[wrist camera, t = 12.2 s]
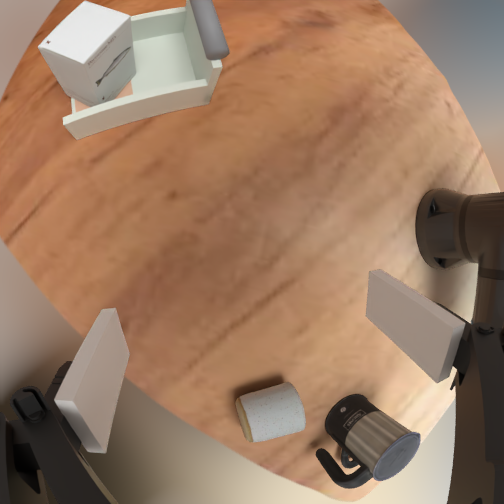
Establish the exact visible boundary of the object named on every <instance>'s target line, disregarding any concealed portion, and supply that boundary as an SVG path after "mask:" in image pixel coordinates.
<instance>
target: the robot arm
mask: <svg viewBox="0 0 504 504" xmlns="http://www.w3.org/2000/svg"><path fill="white" fill-rule="evenodd" d="M416 235H417V242H418V246H419V249H420V252H421V254H422V256H423V258H424V260H425V261H426V262H427V263H428V264H429V265H430V266H431V267H433V268H436V269H444V270H446V269H451V268H455V267H458V266H461V265H464V264H467V263H478V278H477V288H476V297H475V304H474V311H473V318H472V320H471V324H470V323H469V322H467V321H466V320H464V319H463V318H461V317H460V316H458V315H457V314H455V313H453V312H452V311H450V310H448V309H447V308H446V307H444V306H443V305H441V304H439V303H436V302H433V301H431V300H429V299H428V298H426V297H425V296H423V295H422V294H420V293H418V292H417V291H415V290H414V289H412V288H410V287H409V286H407V285H406V284H404V283H402V282H401V281H399V280H397V279H396V278H394V277H393V276H391V275H389V274H388V273H386V272H384V271H383V270H381V269H379V270H374V271H369V282H368V296H367V307H366V317H367V318H368V319H369V320H370V321H371V322H373V323H374V324H375V325H376V326H377V327H378V328H379V329H380V330H381V331H382V332H383V333H384V334H385V335H387V336H388V337H389V338H390V339H391V340H392V341H393V342H394V343H395V344H396V345H397V346H398V347H399V348H400V349H401V350H402V351H404V352H405V353H406V354H407V355H408V356H409V357H410V358H411V359H412V360H413V361H414V362H415V363H416V364H417V365H418V366H419V367H420V368H421V369H422V370H423V371H425V372H426V373H427V374H428V375H429V376H430V377H431V378H432V379H433V380H434V381H435V382H436V383H438V382H440V381H442V380H444V379H446V378H448V377H449V375H450V372H451V369H452V366H454V367H455V368H456V369H457V372H456V375H455V377H454V380H453V383H452V385H451V388H450V390H453V387H454V386H455V387H456V426H455V447H454V458H453V469H452V476H451V484H450V490H449V496H448V501H447V504H504V192H500V193H489V194H478V195H466V194H462V193H459V192H456V191H453V190H449V189H435V190H431V191H429V192H428V193H427V194H426V195H425V196H424V197H423V199H422V201H421V203H420V205H419V209H418V213H417V219H416ZM129 356H130V353H129V350H128V347H127V344H126V341H125V337H124V334H123V331H122V328H121V324H120V321H119V318H118V314H117V311H116V308H110V309H102V310H101V312H100V313H99V315H98V317H97V319H96V320H95V322H94V324H93V325H92V327H91V329H90V331H89V333H88V334H87V336H86V338H85V340H84V342H83V344H82V345H81V347H80V349H79V351H78V353H77V355H76V356H75V359H74V360H73V361H67V362H66V363H65V364H64V365H62V366H61V367H60V368H59V370H58V371H57V374H56V375H55V378H54V379H53V381H52V384H51V385H50V387H49V388H48V391H47V393H46V394H45V396H44V397H43V395H42V393H41V391H40V390H39V389H38V388H37V387H34V386H27V387H23V388H21V389H19V390H18V391H16V392H15V393H14V394H13V395H12V397H11V399H10V405H11V407H12V409H13V410H14V412H15V413H16V414H17V416H18V417H19V420H12V421H8V419H7V418H6V417H5V415H4V414H3V413H2V412H0V504H49V500H48V496H47V493H46V487H45V483H44V478H43V475H44V477H45V479H46V481H47V483H48V485H49V487H50V489H51V491H52V493H53V494H54V496H55V498H56V500H57V502H58V504H119V503H118V502H117V501H116V500H115V499H114V497H113V496H112V495H111V494H110V493H109V491H108V490H107V489H106V487H105V486H104V485H103V484H102V482H101V481H100V479H99V478H98V477H97V475H96V474H95V473H94V471H93V470H92V468H91V467H90V465H89V464H88V463H87V461H86V460H85V458H84V457H83V455H82V454H81V452H80V451H79V449H80V445H81V443H82V444H83V446H84V447H85V449H86V450H87V451H88V452H97V453H106V449H107V444H108V440H109V435H110V430H111V426H112V421H113V417H114V413H115V408H116V404H117V401H118V396H119V393H120V389H121V385H122V381H123V377H124V374H125V370H126V366H127V363H128V359H129Z"/></svg>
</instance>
